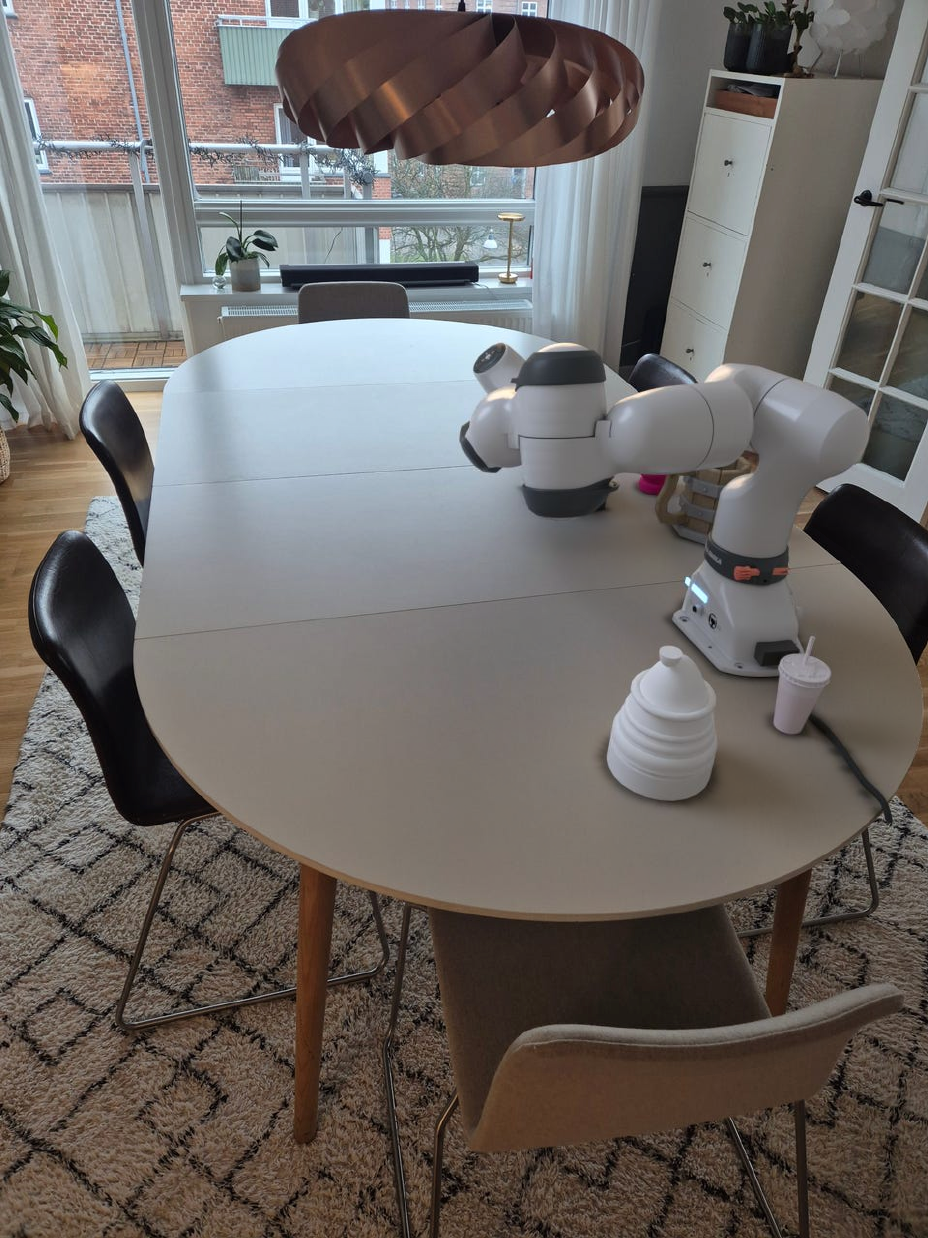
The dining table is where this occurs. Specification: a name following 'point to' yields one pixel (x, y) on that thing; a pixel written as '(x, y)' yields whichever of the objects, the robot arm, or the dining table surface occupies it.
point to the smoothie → (799, 689)
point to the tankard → (697, 499)
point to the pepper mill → (651, 483)
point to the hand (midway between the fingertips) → (570, 450)
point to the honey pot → (665, 731)
